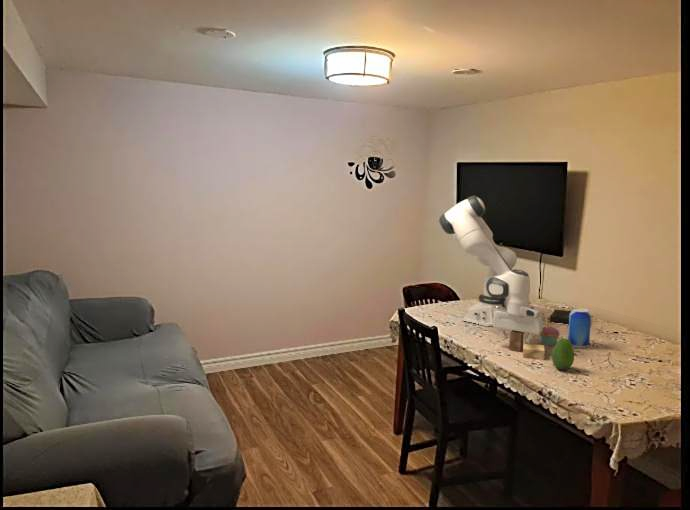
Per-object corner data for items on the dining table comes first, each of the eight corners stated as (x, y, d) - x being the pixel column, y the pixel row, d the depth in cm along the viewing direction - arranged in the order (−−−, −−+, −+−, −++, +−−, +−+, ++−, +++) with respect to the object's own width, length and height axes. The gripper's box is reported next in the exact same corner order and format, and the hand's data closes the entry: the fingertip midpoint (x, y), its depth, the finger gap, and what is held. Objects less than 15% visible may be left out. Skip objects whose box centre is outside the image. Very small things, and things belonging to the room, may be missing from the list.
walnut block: (509, 350, 222) (510, 332, 221) (512, 347, 226) (513, 329, 224) (520, 352, 219) (520, 333, 218) (523, 349, 223) (523, 331, 222)
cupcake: (549, 346, 227) (550, 319, 225) (533, 341, 234) (535, 315, 233) (562, 343, 231) (564, 317, 229) (547, 338, 238) (548, 312, 237)
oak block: (522, 358, 212) (523, 349, 212) (522, 352, 220) (523, 343, 219) (544, 360, 210) (544, 350, 209) (543, 354, 217) (543, 345, 217)
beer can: (587, 344, 230) (590, 308, 228) (590, 349, 222) (592, 312, 220) (567, 342, 233) (569, 306, 231) (568, 347, 225) (570, 311, 223)
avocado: (577, 371, 197) (579, 340, 195) (560, 373, 195) (562, 342, 193) (563, 364, 204) (565, 334, 203) (546, 366, 202) (547, 336, 201)
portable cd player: (586, 328, 257) (587, 320, 257) (549, 323, 266) (550, 315, 265) (590, 320, 271) (590, 313, 271) (554, 316, 280) (555, 309, 279)
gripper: (490, 307, 223) (489, 338, 225) (541, 313, 212) (539, 346, 214) (495, 304, 228) (494, 335, 230) (544, 310, 217) (543, 342, 219)
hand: (516, 340), depth 222 cm, fingers open, 8 cm apart
